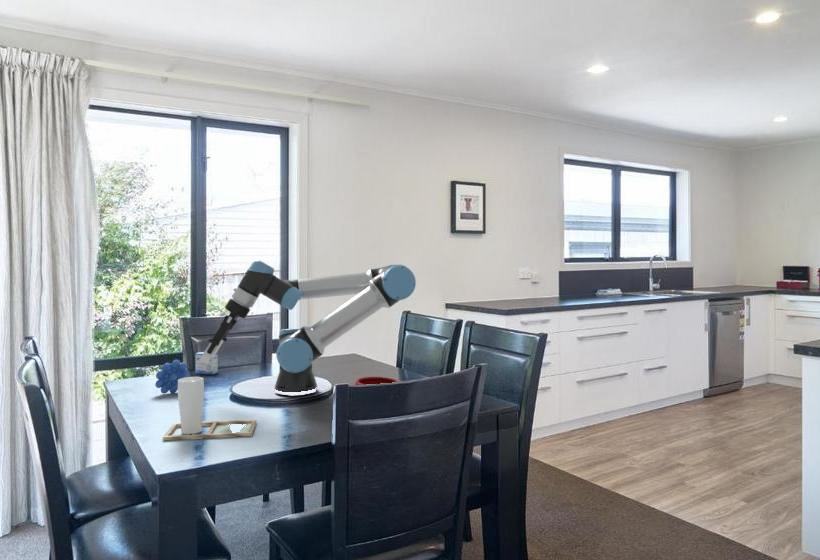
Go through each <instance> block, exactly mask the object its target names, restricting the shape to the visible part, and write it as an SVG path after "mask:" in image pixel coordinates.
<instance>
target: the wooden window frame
mask: <svg viewBox="0 0 820 560" xmlns="http://www.w3.org/2000/svg"><path fill="white" fill-rule="evenodd" d="M256 422H258V421H257V419H255V418H254V419H239V420H237V419H236V420H215V421H214V420H212V421H202V427H209V429H208V431H207V433H197V434H192V435H186V434H182V435H181V434H180V435H179V434H178V435H171V434H173V433H174V432H175V431H176V430H177V428H181V422H174V423H173V424H172V425H171V427H170V428H169V429H168V430H167V432H165V433H164V435H162V441H163V440H171V441H179V440H178V439H191V440H204V439H203V438H211V439H224V438H223V437H231V438H237V437H236V436H251V437H253V435H252V434H254V432H255V429H256V426H255V425H257V423H256ZM229 424H230V425H231V424H242V425H243V424H246V425H245V426H246V427H245V426H244V427H243V428H242V429H241V430H240V432H236V433H232V431H231V430H230V425H229ZM228 425H229V426H228ZM254 428H255V429H254ZM175 429H176V430H175ZM174 430H175V431H174ZM253 431H254V432H253ZM234 436H235V437H234Z"/></svg>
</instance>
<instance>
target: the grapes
mask: <svg viewBox="0 0 820 560" xmlns="http://www.w3.org/2000/svg"><path fill="white" fill-rule="evenodd" d="M187 368H188V364H187V362H181V361H180V359H179V360H178V359H174V360H173V361H171V363H170V362H166V363H164V364H162V368H161V369H162V370H159V371H157V372H156V374H155V377H156V379H157V380H156V381H155V383H154V384H155V387H156V388H157V389H160V392H161V393H162V394H167V393H168V392H169V393H170V394H175V393H176V392H178V380H179V379H181V378H185V377H190V371H189V370H188V369H187Z"/></svg>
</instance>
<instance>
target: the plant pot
mask: <svg viewBox="0 0 820 560" xmlns="http://www.w3.org/2000/svg"><path fill="white" fill-rule="evenodd" d="M392 382H399V381H398V380H397V379H395V378H391V377H385V376H366V377H365V376H364V377H360V378H357V379H356V380H355V385H366V384H376V385H378V384H380V383H392ZM355 385H354V386H355Z"/></svg>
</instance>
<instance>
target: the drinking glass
mask: <svg viewBox="0 0 820 560" xmlns="http://www.w3.org/2000/svg"><path fill="white" fill-rule="evenodd" d="M204 384H205V383H204V377H201V376H188V377H185V378H181V379H179V380H178V390H177V399H178V406H179V407H178V409H179V416H180V417H179V419H180V423H181V427H180V432H181V434H182V435H186V434H187V435H189V434H192V435H195V434H200V432H201V431H202V430H203V428H202V427H203V426H202V422H203V407H204V397H205V396H204V395H205V387H204V386H205V385H204Z"/></svg>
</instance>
